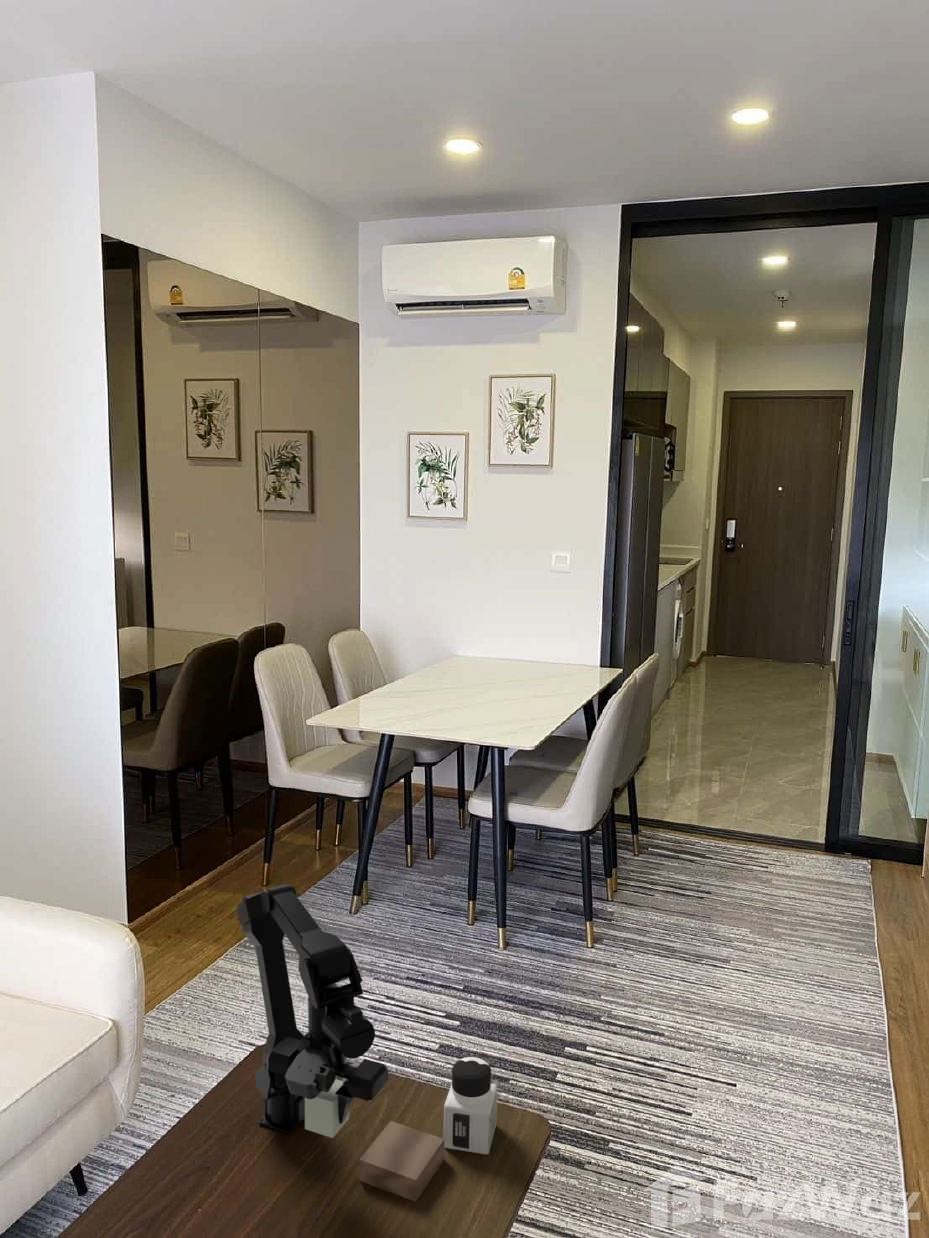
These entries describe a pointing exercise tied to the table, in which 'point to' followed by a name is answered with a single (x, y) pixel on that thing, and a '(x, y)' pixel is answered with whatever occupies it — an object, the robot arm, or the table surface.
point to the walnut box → (402, 1160)
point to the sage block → (324, 1112)
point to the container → (470, 1107)
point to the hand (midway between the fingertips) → (327, 1117)
